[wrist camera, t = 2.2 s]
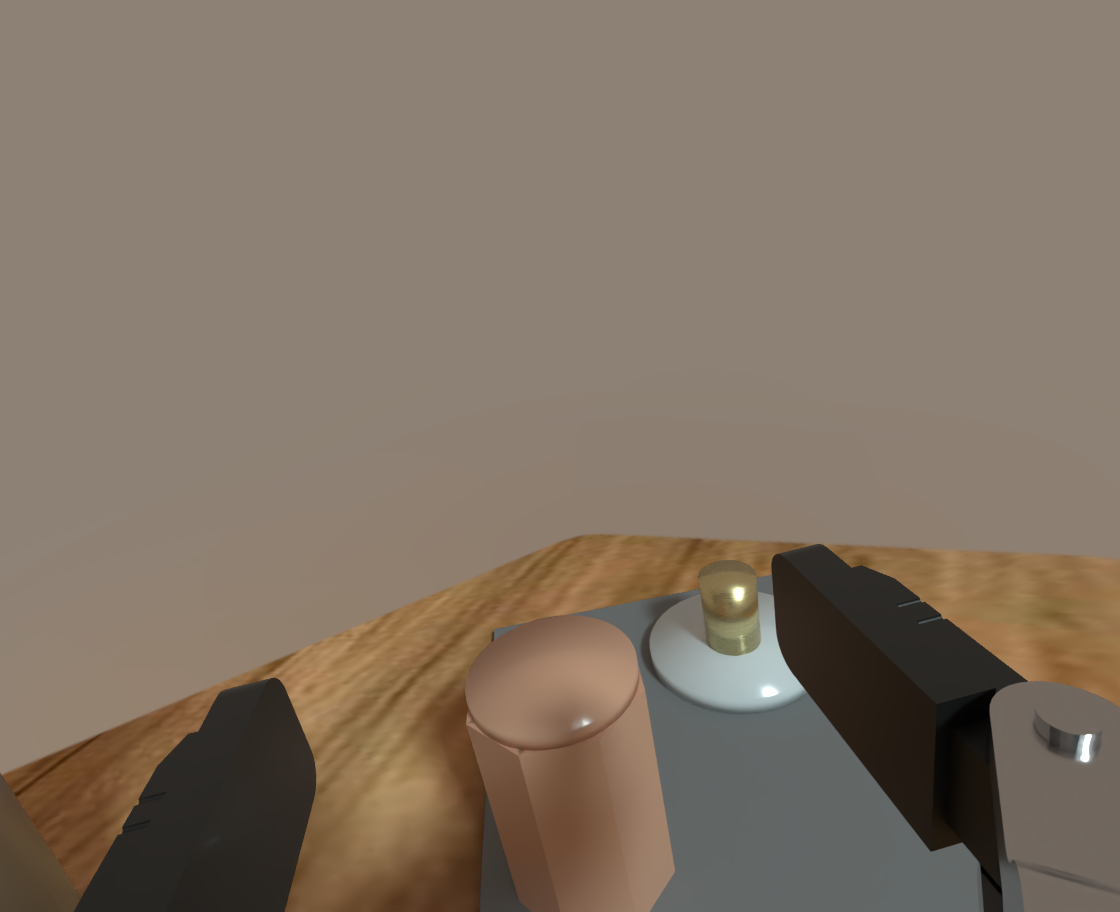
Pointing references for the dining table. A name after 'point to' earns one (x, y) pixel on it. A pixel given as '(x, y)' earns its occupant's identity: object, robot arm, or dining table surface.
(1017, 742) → the robot arm
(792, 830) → the rubber mat
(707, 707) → the saucer
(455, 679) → the dining table surface
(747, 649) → the brass weight
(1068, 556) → the dining table surface
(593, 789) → the domed octagonal post
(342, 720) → the dining table surface
